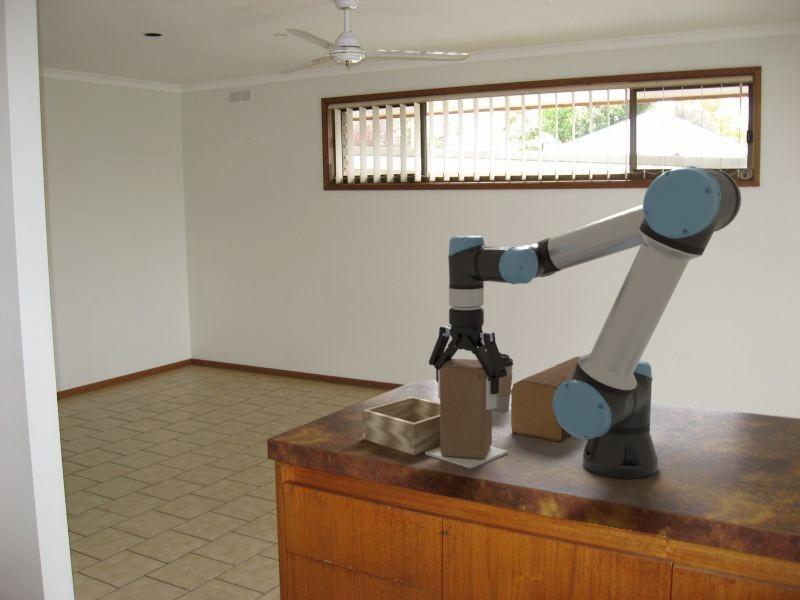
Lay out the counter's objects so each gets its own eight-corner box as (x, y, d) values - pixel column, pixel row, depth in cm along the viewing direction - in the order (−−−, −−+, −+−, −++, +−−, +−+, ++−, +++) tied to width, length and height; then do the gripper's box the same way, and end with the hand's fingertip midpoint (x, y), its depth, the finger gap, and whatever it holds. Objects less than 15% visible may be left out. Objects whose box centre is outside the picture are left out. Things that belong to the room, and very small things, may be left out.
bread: (616, 410, 202) (617, 357, 200) (562, 444, 175) (563, 384, 173) (567, 402, 210) (568, 352, 208) (508, 433, 183) (508, 376, 181)
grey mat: (508, 453, 168) (508, 450, 168) (470, 468, 159) (470, 465, 159) (463, 440, 178) (463, 438, 177) (425, 454, 168) (425, 451, 168)
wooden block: (485, 460, 162) (485, 369, 159) (439, 457, 165) (438, 367, 162) (492, 445, 172) (492, 359, 169) (449, 442, 174) (448, 357, 172)
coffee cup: (515, 413, 199) (515, 357, 197) (480, 413, 199) (480, 358, 197) (510, 404, 208) (510, 350, 206) (477, 404, 208) (477, 351, 206)
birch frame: (463, 437, 180) (463, 408, 179) (414, 455, 168) (413, 424, 167) (412, 423, 192) (412, 396, 191) (362, 438, 180) (362, 410, 179)
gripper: (524, 310, 158) (523, 409, 161) (435, 300, 175) (436, 389, 178) (501, 314, 153) (501, 417, 155) (412, 304, 170) (414, 396, 173)
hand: (466, 402), depth 167 cm, fingers open, 13 cm apart
